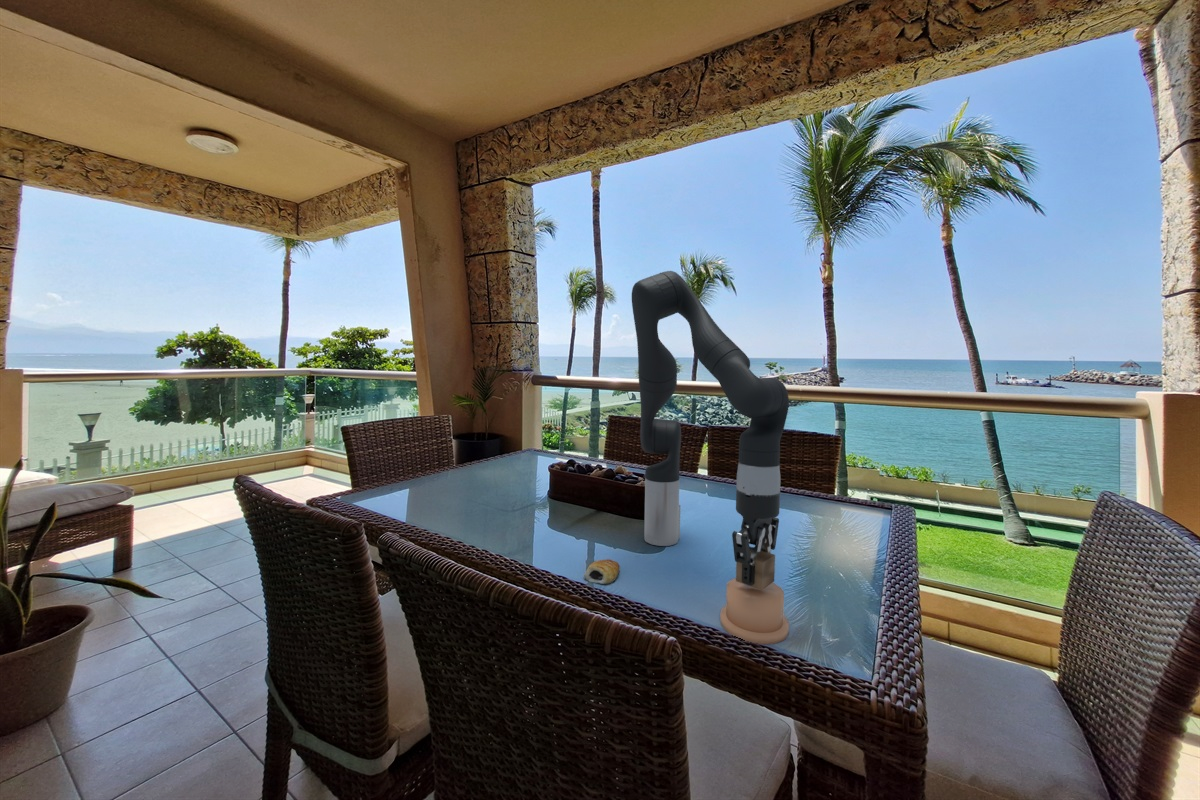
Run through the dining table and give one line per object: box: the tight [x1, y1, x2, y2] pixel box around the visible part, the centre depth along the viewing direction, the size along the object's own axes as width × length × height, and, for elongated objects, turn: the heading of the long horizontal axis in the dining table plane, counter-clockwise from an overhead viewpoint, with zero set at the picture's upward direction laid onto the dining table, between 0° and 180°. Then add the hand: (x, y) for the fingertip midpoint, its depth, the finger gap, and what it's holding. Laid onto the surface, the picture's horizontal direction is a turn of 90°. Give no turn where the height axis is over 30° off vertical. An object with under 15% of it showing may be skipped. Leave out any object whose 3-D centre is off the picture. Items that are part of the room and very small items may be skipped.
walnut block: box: [735, 550, 776, 590], centre depth 86 cm, size 5×5×5 cm
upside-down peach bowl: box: [719, 577, 790, 645], centre depth 87 cm, size 12×12×7 cm
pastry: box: [583, 558, 620, 585], centre depth 107 cm, size 9×7×4 cm
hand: (755, 578), depth 87 cm, fingers closed on walnut block, 4 cm apart
